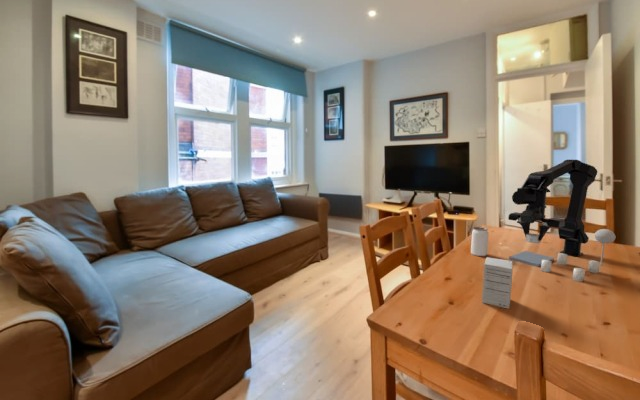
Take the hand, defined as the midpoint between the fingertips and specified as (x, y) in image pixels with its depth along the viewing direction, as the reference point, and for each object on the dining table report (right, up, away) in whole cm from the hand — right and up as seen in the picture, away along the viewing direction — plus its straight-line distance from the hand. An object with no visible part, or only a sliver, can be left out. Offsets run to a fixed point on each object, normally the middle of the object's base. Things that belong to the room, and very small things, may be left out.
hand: (533, 239), depth 124 cm
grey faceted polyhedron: (0, -1, 0) cm, 1 cm away
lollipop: (+23, -10, -6) cm, 26 cm away
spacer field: (+5, -11, -12) cm, 17 cm away
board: (0, -9, +1) cm, 9 cm away
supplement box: (-36, -15, -33) cm, 51 cm away
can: (-18, -8, +9) cm, 22 cm away
